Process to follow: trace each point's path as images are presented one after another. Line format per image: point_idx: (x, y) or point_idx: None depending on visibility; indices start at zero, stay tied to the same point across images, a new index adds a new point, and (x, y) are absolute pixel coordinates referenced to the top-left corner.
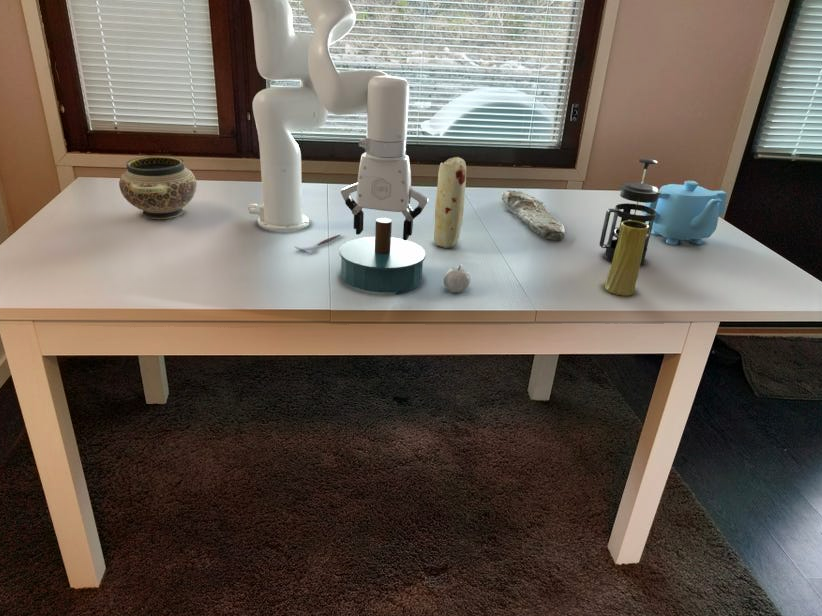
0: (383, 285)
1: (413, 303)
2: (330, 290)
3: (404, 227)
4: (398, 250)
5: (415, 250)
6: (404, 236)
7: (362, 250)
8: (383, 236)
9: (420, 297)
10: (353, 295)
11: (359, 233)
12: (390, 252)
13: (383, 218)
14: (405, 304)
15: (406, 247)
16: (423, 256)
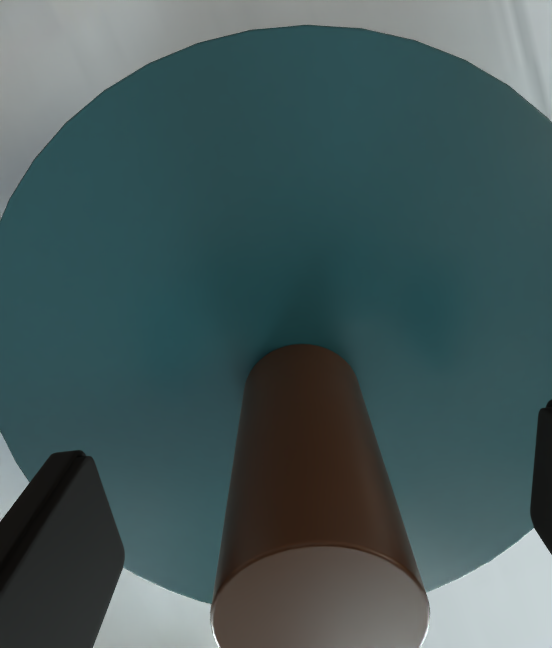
0: None
1: (3, 81)
2: (519, 26)
3: (6, 554)
4: (206, 452)
5: (107, 495)
6: (55, 473)
7: (446, 349)
8: (278, 428)
9: (12, 181)
10: (362, 20)
11: (545, 408)
12: (241, 399)
13: None
14: (33, 42)
15: (181, 515)
16: (8, 427)
